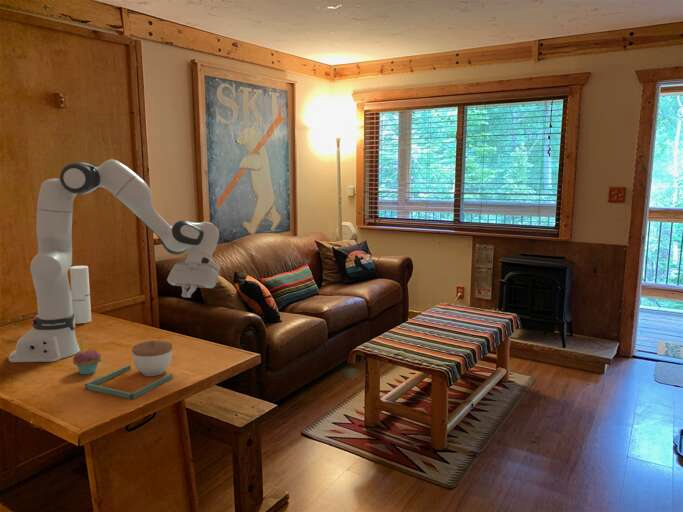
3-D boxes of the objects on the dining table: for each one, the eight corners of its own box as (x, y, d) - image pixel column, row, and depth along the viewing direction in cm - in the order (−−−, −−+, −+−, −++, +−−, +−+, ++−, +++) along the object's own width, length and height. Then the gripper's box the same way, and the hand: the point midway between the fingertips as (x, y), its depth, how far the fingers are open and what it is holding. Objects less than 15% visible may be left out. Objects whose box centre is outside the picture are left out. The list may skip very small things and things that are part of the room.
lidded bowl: (164, 362, 183) (163, 332, 181) (179, 373, 173) (178, 342, 171) (128, 370, 174) (126, 339, 173) (141, 382, 165) (139, 349, 163)
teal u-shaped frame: (128, 369, 176) (128, 364, 176) (172, 378, 169) (172, 373, 169) (85, 388, 159) (85, 384, 159) (132, 399, 153) (131, 394, 152)
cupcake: (83, 378, 167) (80, 343, 165) (68, 372, 172) (65, 338, 170) (107, 370, 174) (105, 336, 172) (92, 365, 179) (90, 331, 177)
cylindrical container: (95, 321, 230) (91, 266, 226) (81, 325, 223) (77, 269, 219) (83, 319, 232) (80, 265, 228) (69, 323, 226) (66, 267, 222)
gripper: (171, 258, 195) (158, 291, 189) (215, 260, 187) (203, 295, 181) (180, 265, 200) (168, 298, 194) (224, 267, 192) (212, 302, 186)
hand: (185, 296), depth 188 cm, fingers closed
